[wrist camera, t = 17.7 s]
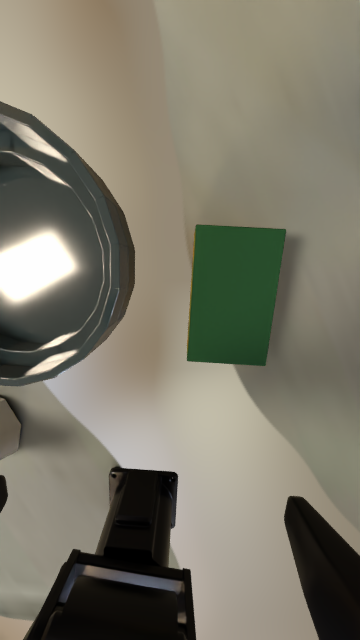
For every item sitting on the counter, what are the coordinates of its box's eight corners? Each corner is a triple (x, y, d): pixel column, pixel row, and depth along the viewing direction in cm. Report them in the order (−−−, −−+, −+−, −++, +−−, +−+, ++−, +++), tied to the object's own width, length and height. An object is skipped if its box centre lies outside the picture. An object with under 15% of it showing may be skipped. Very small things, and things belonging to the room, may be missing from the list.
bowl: (136, 364, 19) (120, 393, 15) (-50, 353, 19) (-120, 378, 15) (137, 147, 15) (117, 98, 11) (-91, 137, 16) (-199, 86, 11)
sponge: (253, 351, 18) (265, 366, 15) (186, 346, 18) (186, 361, 16) (269, 236, 16) (286, 229, 13) (194, 232, 16) (196, 224, 14)
